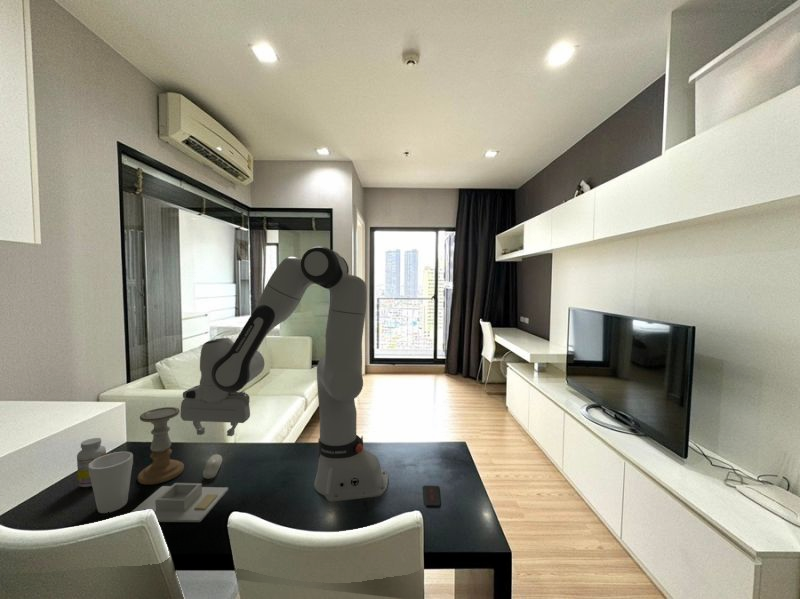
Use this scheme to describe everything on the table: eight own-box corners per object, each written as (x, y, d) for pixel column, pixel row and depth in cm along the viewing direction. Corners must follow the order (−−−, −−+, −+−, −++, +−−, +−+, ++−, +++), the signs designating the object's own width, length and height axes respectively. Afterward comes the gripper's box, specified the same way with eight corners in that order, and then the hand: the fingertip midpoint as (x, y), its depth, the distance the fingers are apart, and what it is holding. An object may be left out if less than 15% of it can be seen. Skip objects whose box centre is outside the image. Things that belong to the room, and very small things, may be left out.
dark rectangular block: (439, 492, 103) (439, 483, 103) (443, 520, 91) (443, 510, 91) (422, 492, 103) (422, 483, 103) (423, 519, 91) (423, 509, 91)
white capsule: (216, 465, 109) (221, 452, 117) (202, 468, 108) (208, 454, 116) (217, 477, 109) (223, 463, 117) (203, 480, 108) (210, 466, 116)
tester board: (228, 490, 102) (228, 477, 102) (200, 523, 88) (199, 508, 88) (162, 489, 103) (162, 476, 102) (123, 521, 89) (123, 506, 88)
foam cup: (108, 519, 90) (107, 471, 89) (80, 514, 91) (78, 466, 91) (142, 497, 99) (141, 453, 98) (116, 493, 101) (115, 449, 100)
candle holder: (192, 469, 114) (191, 409, 113) (152, 489, 103) (151, 423, 102) (169, 460, 119) (168, 403, 118) (129, 479, 108) (127, 416, 107)
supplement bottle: (102, 473, 111) (100, 434, 110) (110, 479, 107) (109, 439, 107) (74, 483, 105) (72, 442, 104) (82, 490, 102) (81, 448, 101)
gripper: (254, 389, 109) (253, 431, 110) (190, 386, 109) (190, 429, 110) (244, 395, 103) (244, 440, 103) (177, 392, 103) (177, 437, 104)
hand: (215, 434), depth 107 cm, fingers open, 8 cm apart
